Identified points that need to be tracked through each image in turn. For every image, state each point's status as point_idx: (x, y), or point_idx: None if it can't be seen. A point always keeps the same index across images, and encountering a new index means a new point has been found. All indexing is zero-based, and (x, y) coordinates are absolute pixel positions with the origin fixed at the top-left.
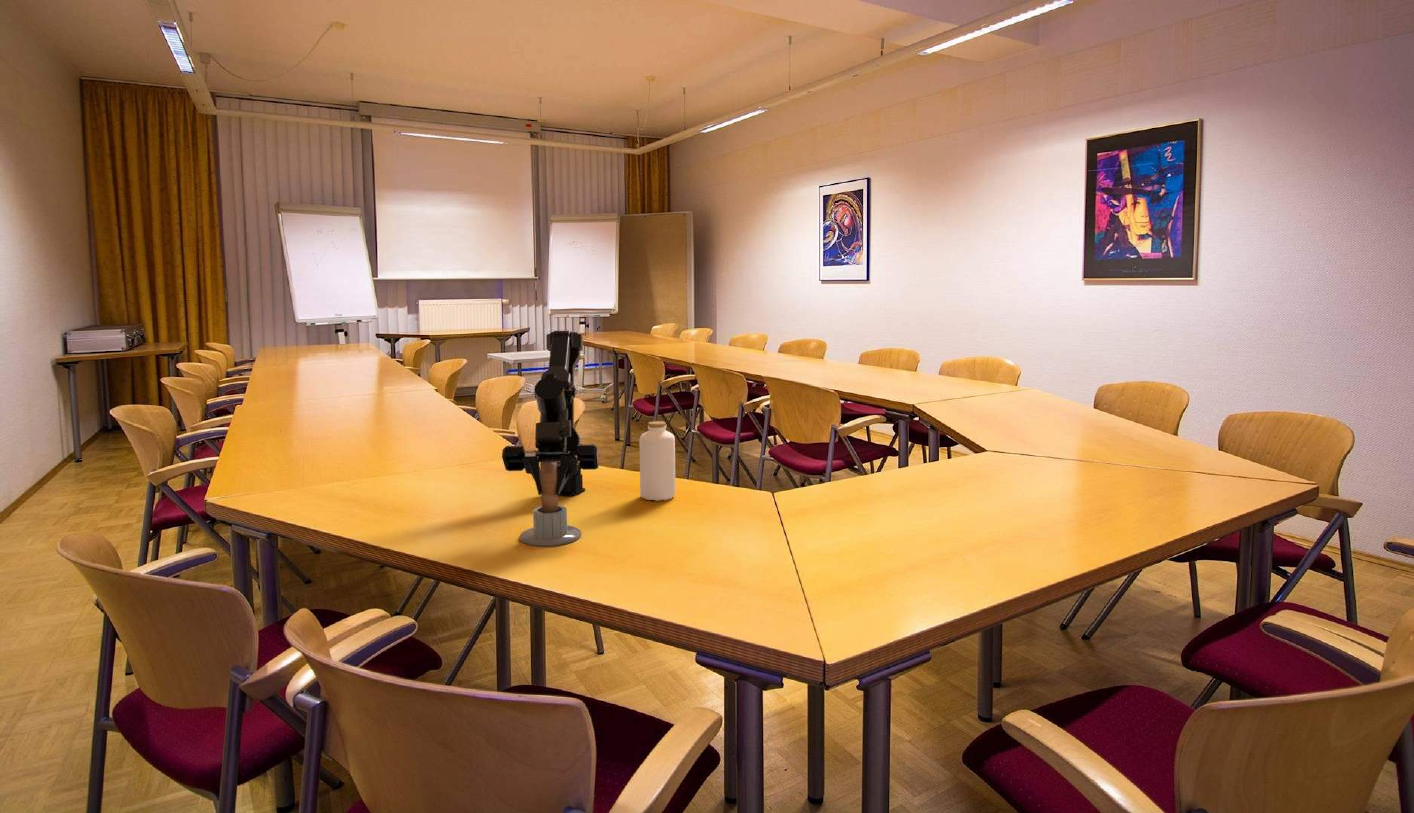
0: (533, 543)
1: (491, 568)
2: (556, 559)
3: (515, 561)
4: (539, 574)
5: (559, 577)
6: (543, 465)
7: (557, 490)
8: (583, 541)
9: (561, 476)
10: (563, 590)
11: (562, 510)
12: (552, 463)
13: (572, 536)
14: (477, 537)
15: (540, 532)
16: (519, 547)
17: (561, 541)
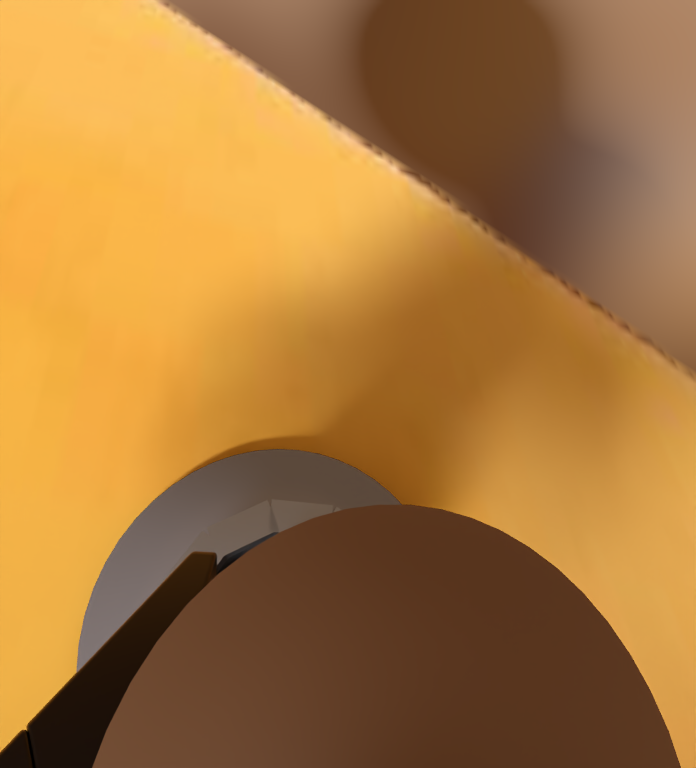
0: (360, 472)
1: (472, 260)
2: (248, 291)
3: (405, 304)
4: (306, 178)
5: (240, 142)
6: (512, 550)
7: (202, 562)
8: (93, 510)
9: (76, 729)
10: (230, 66)
11: None
12: (253, 673)
13: (148, 554)
14: (660, 661)
15: None
16: (420, 465)
17: (218, 469)
